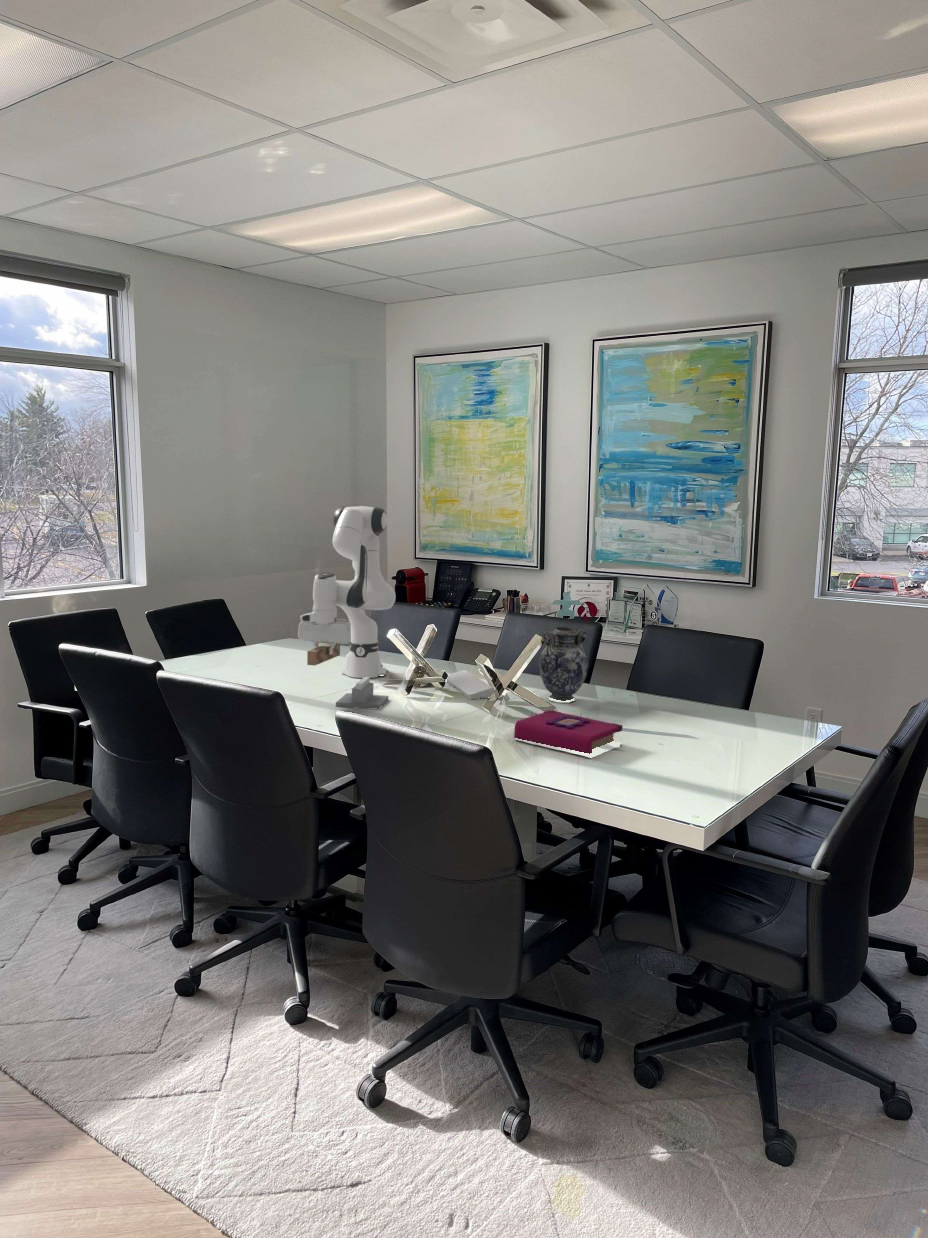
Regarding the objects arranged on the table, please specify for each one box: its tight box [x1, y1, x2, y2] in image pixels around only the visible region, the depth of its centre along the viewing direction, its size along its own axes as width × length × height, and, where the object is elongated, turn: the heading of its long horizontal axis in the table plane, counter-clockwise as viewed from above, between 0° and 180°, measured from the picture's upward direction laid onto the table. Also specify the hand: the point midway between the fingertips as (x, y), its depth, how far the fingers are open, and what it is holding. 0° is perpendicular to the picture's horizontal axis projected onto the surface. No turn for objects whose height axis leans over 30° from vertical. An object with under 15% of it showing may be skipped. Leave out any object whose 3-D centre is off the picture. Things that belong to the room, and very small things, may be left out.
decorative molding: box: [446, 669, 495, 700], centre depth 359 cm, size 34×5×10 cm
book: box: [513, 709, 623, 754], centre depth 286 cm, size 21×28×8 cm
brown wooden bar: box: [306, 643, 341, 667], centre depth 332 cm, size 22×3×5 cm, turn 164°
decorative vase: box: [538, 626, 589, 701], centre depth 343 cm, size 21×19×28 cm
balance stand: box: [335, 677, 390, 710], centre depth 329 cm, size 15×16×8 cm
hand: (324, 653), depth 332 cm, fingers closed on brown wooden bar, 3 cm apart
